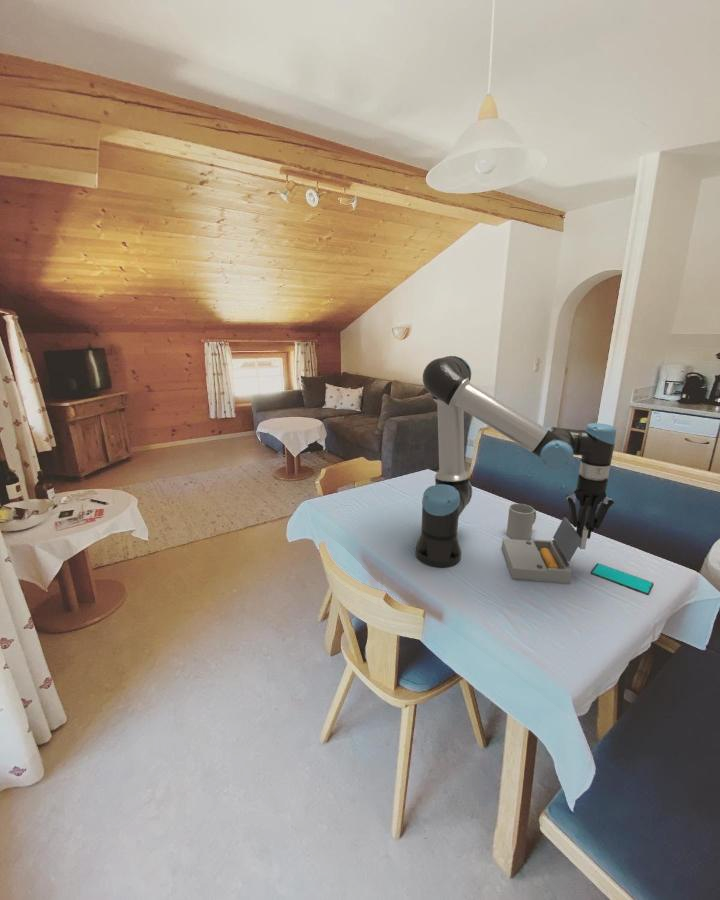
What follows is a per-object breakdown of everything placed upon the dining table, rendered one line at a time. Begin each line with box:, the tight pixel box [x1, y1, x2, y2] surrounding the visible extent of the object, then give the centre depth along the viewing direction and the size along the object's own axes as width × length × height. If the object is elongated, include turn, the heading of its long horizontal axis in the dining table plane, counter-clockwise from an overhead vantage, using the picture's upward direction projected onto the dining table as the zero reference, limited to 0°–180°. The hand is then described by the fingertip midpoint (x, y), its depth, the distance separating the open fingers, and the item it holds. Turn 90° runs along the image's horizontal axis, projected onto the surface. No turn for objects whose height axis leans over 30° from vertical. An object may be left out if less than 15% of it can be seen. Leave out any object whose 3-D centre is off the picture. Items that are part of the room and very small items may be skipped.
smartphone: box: [590, 563, 654, 596], centre depth 119 cm, size 7×1×15 cm
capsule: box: [540, 548, 558, 569], centre depth 125 cm, size 3×12×3 cm
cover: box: [551, 516, 582, 567], centre depth 122 cm, size 10×14×1 cm
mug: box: [506, 503, 537, 541], centre depth 144 cm, size 12×8×11 cm
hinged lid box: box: [501, 538, 573, 585], centre depth 126 cm, size 17×18×4 cm
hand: (581, 546), depth 122 cm, fingers closed
